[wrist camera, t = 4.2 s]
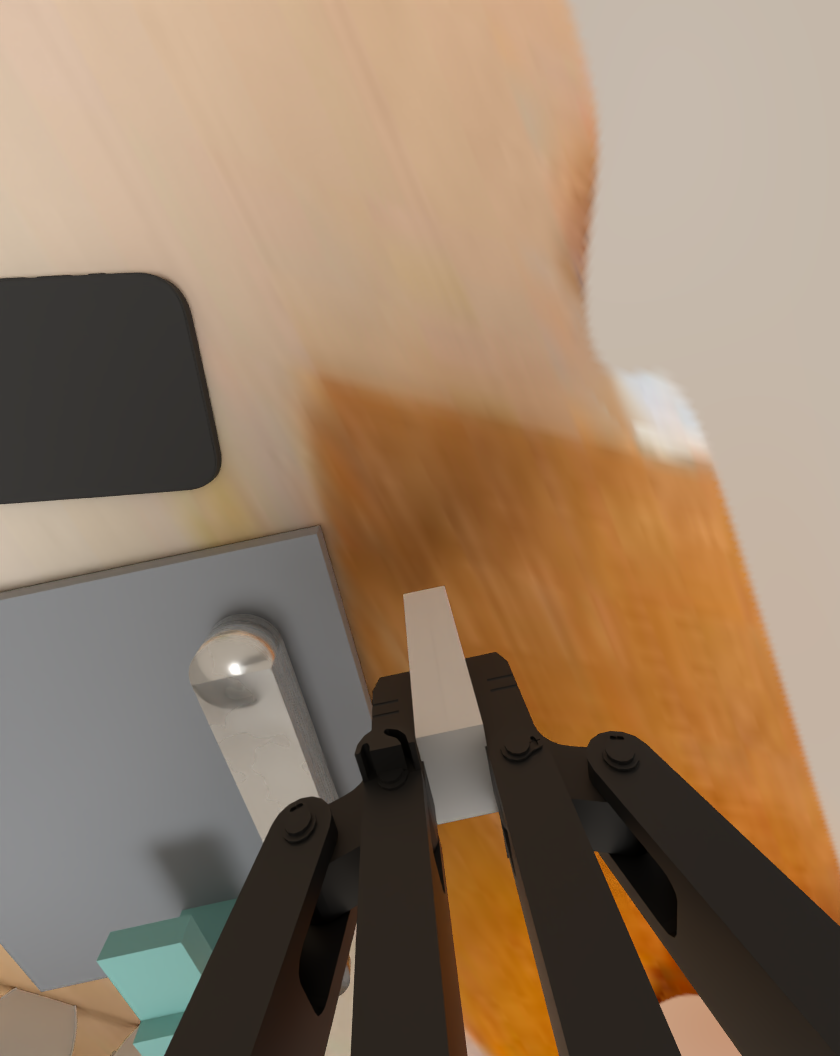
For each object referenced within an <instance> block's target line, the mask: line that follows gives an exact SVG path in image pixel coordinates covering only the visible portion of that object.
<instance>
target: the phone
mask: <svg viewBox="0 0 840 1056" xmlns="http://www.w3.org/2000/svg"><path fill="white" fill-rule="evenodd" d="M220 467H221V452H220V447H219V442H218V437H217V432H216V427H215V422H214V418H213V413H212V408H211V403H210V398H209V394H208V389H207V384H206V379H205V375H204V370H203V365H202V361H201V356H200V351H199V347H198V342H197V337H196V333H195V328H194V324H193V319H192V315H191V311H190V308H189V306H188V303H187V301H186V299H185V297H184V296H183V294H182V293H181V292H180V290H179V289H178V288H177V287H176V286H174V285H173V284H172V283H170V282H169V281H167V280H165V279H162V278H160V277H157V276H154V275H151V274H146V273H117V274H105V273H99V274H88V275H79V276H71V275H62V276H42V277H37V278H4V279H0V504H11V503H24V502H37V501H51V500H64V499H79V498H92V497H106V496H119V495H131V494H144V493H157V492H170V491H183V490H192V489H197V488H200V487H202V486H204V485H206V484H208V483H209V482H211V481H212V480H213V479H214V478H215V477H216V476H217V475H218V473H219V471H220Z"/></svg>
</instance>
